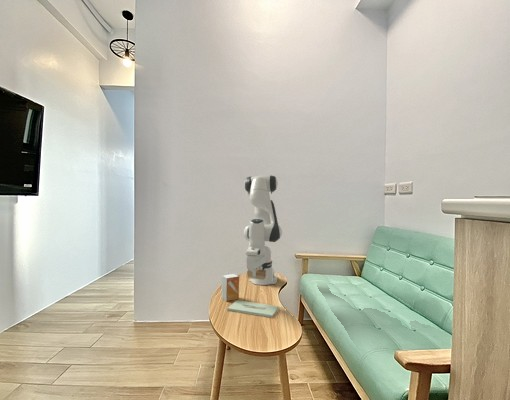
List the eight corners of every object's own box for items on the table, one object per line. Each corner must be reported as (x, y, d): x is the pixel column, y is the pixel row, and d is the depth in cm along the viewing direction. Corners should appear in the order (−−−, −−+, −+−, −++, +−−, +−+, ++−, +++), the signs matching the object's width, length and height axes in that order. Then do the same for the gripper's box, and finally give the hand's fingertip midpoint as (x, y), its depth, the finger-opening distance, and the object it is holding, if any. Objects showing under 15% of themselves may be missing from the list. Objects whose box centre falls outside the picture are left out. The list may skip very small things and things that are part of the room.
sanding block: (250, 275, 163) (250, 268, 163) (265, 277, 160) (266, 270, 160) (247, 278, 158) (247, 270, 158) (263, 279, 156) (263, 272, 156)
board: (236, 302, 161) (236, 299, 161) (279, 308, 153) (279, 306, 153) (227, 310, 150) (227, 307, 150) (272, 317, 142) (272, 315, 142)
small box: (226, 301, 162) (226, 278, 162) (221, 298, 168) (221, 275, 167) (239, 298, 167) (239, 276, 167) (233, 295, 172) (233, 273, 172)
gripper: (257, 246, 170) (257, 269, 170) (244, 252, 151) (244, 279, 151) (268, 246, 168) (267, 270, 168) (256, 252, 149) (255, 280, 149)
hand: (256, 274), depth 159 cm, fingers closed on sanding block, 5 cm apart
